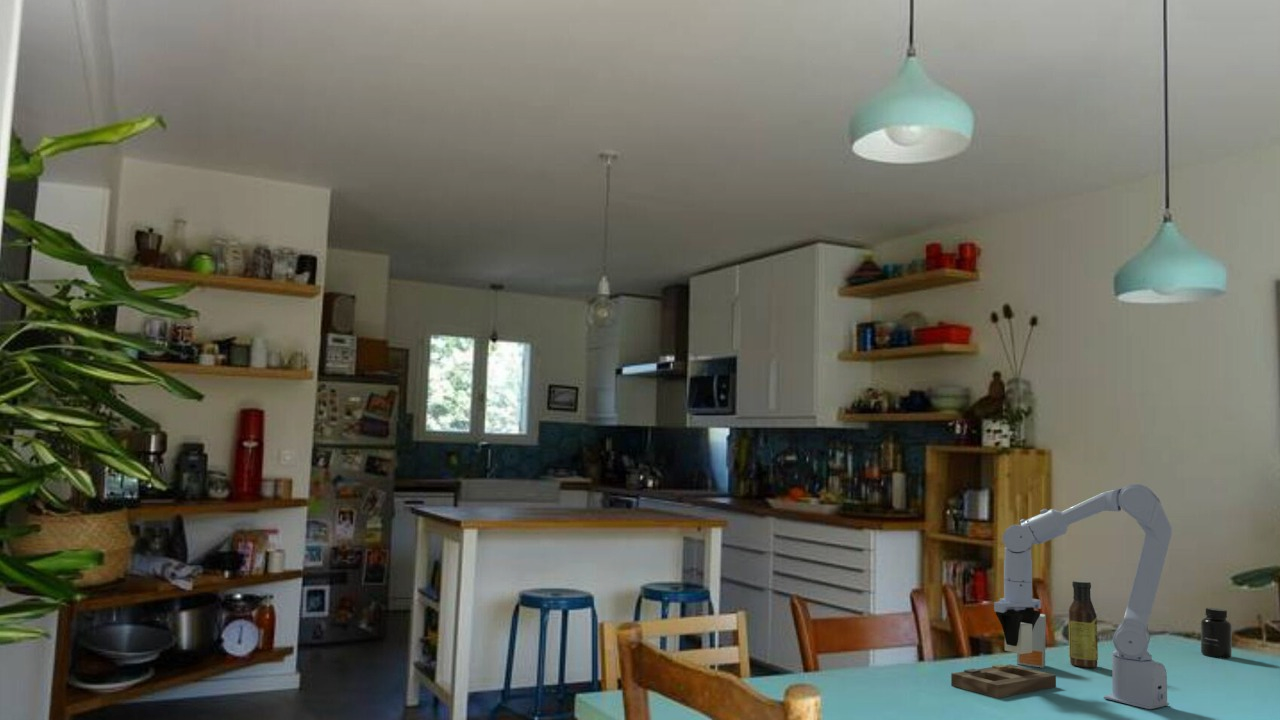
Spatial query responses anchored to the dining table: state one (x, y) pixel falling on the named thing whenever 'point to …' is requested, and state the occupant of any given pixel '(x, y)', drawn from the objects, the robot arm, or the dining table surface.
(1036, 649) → the skincare box
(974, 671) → the grey tag
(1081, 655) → the sauce bottle
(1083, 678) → the dining table surface
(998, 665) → the brass tag
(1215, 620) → the supplement bottle
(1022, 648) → the plug
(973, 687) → the socket board
